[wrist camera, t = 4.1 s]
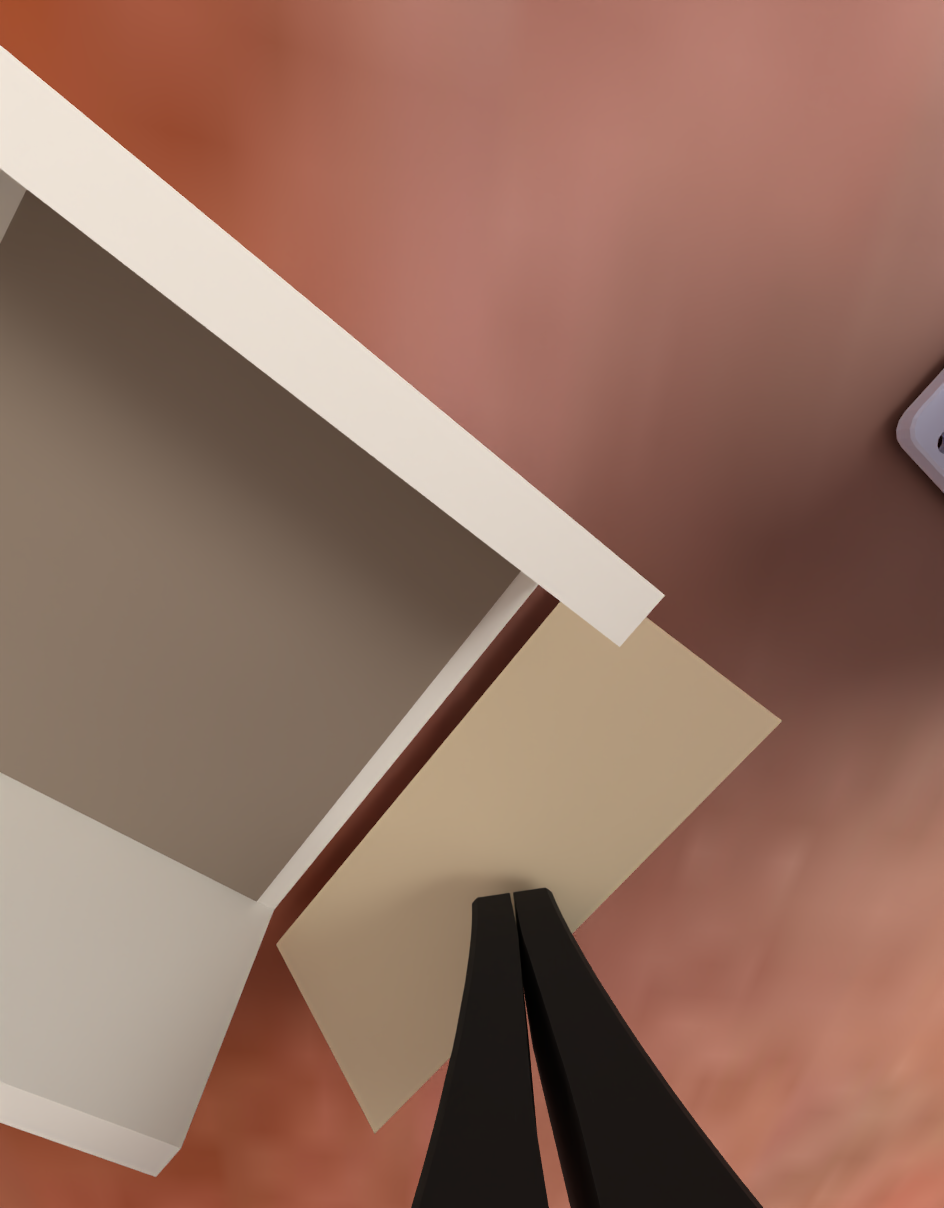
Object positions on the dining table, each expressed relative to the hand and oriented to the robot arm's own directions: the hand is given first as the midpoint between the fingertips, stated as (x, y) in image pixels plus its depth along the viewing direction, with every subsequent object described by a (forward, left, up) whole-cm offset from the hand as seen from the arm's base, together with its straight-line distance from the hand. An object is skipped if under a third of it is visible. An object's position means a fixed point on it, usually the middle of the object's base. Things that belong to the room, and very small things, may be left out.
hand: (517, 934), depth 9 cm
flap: (+2, 0, -3) cm, 4 cm away
